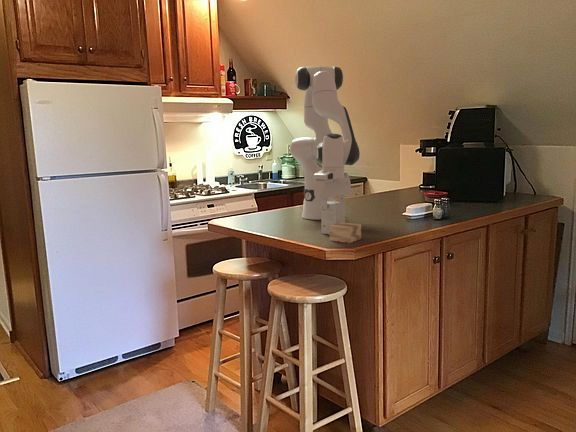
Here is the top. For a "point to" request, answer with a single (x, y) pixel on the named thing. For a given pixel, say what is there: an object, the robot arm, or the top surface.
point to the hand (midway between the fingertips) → (333, 207)
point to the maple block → (345, 232)
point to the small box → (332, 215)
